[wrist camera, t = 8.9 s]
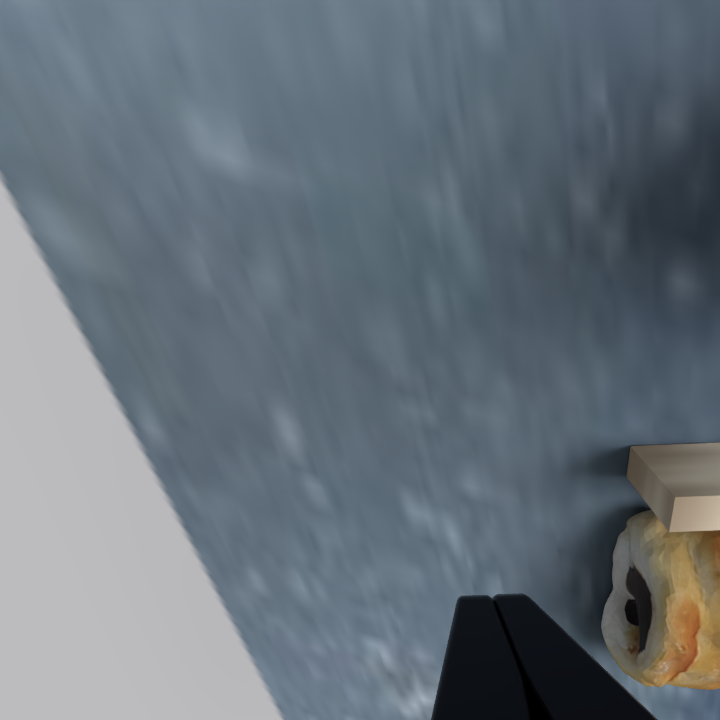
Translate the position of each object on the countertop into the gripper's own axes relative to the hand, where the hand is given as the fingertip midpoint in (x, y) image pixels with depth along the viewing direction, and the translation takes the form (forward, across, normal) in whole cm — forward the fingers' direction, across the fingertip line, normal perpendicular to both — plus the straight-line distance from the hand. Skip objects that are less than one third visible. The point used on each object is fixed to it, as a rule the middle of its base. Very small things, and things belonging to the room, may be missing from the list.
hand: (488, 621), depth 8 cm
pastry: (+12, -11, +10) cm, 19 cm away
